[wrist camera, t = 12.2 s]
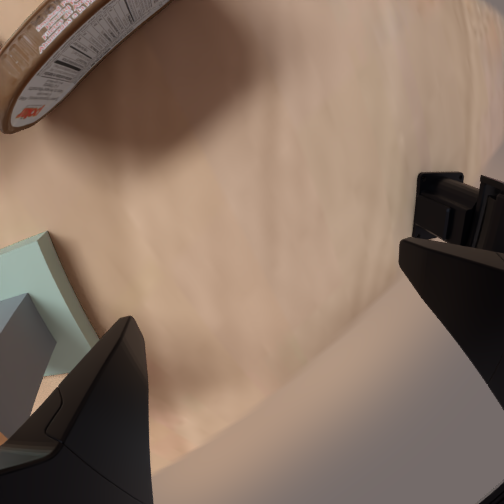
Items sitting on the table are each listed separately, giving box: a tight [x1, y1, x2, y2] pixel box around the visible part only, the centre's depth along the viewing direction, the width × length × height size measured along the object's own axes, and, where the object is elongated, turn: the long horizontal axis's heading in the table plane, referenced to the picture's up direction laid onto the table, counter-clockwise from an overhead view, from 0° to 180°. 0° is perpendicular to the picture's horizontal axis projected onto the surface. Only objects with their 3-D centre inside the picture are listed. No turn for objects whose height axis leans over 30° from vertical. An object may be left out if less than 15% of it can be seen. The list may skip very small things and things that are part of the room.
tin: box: [0, 0, 173, 134], centre depth 11 cm, size 15×3×8 cm, turn 130°
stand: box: [0, 231, 99, 376], centre depth 20 cm, size 12×12×2 cm
